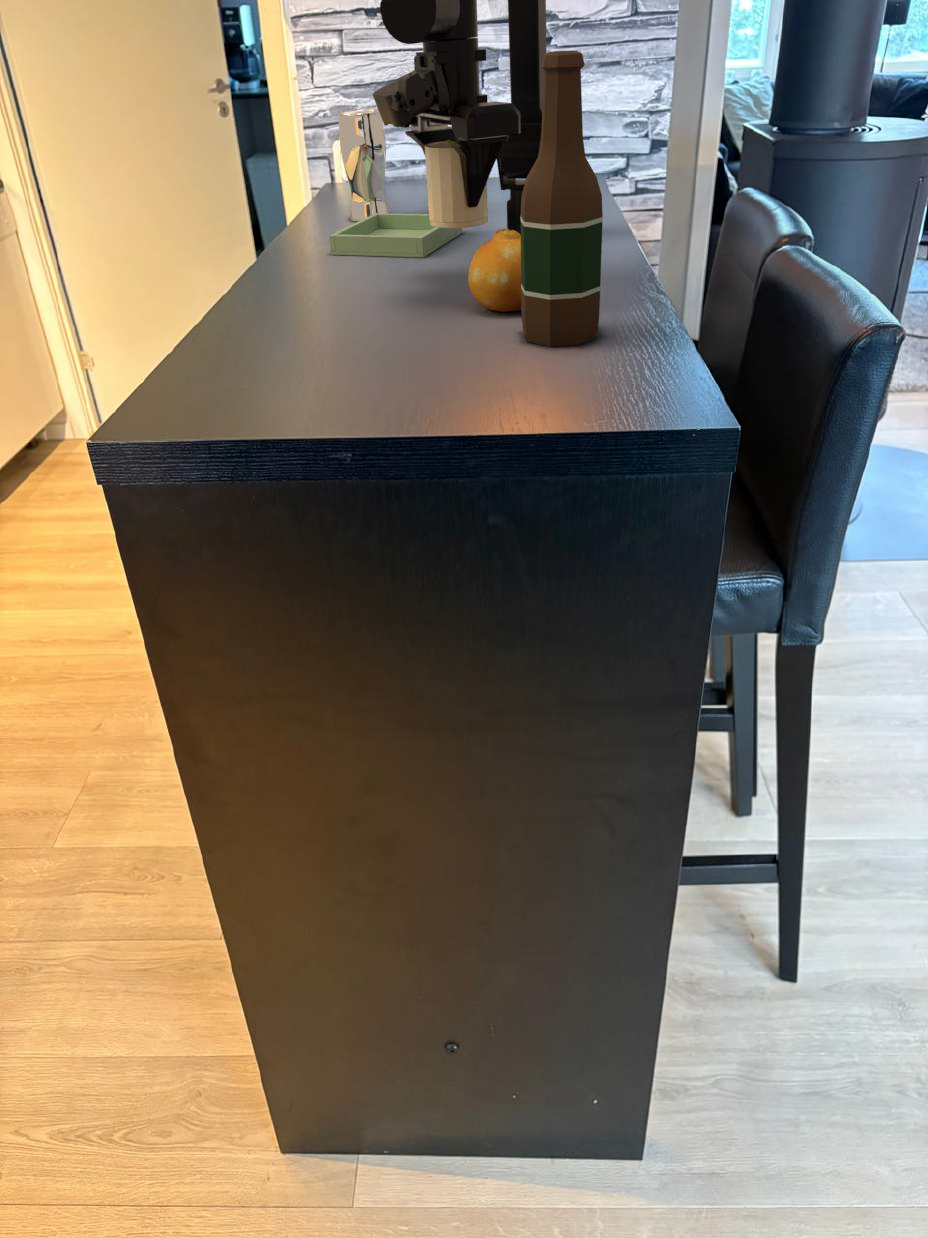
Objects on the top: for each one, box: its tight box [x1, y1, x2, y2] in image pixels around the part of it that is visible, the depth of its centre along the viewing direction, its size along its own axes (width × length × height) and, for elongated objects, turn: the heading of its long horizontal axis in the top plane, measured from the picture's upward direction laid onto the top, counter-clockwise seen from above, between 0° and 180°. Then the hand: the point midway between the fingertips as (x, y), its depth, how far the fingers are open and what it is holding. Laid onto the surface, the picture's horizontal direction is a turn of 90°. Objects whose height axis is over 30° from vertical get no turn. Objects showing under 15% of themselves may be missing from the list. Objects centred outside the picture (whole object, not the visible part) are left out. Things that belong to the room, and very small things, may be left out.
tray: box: [328, 213, 463, 259], centre depth 131 cm, size 14×16×2 cm
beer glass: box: [337, 108, 390, 223], centre depth 144 cm, size 7×7×15 cm
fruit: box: [468, 227, 522, 313], centre depth 99 cm, size 8×8×8 cm
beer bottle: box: [520, 50, 604, 348], centre depth 85 cm, size 8×8×24 cm
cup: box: [424, 141, 489, 229], centre depth 103 cm, size 7×7×8 cm
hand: (457, 202), depth 104 cm, fingers closed on cup, 6 cm apart
